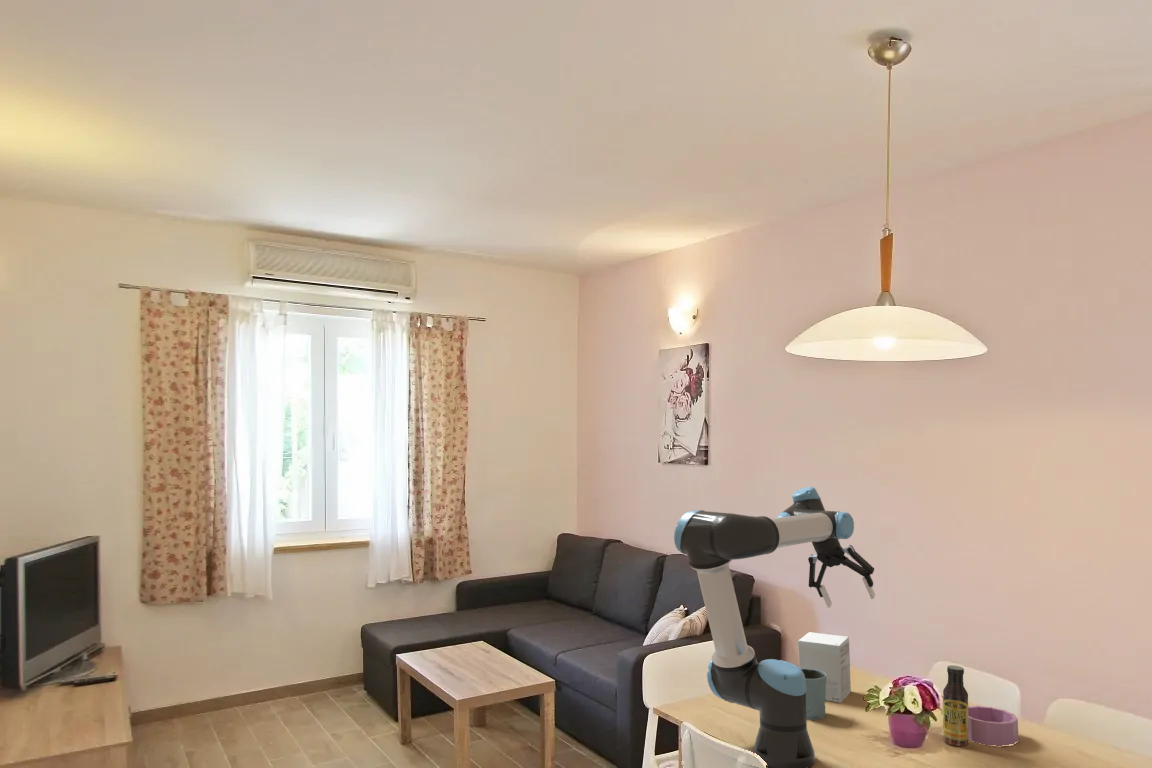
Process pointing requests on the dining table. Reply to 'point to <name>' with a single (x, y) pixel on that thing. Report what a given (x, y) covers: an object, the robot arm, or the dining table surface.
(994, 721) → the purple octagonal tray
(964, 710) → the sauce bottle
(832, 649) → the supplement box
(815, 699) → the teal cup
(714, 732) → the dining table surface
